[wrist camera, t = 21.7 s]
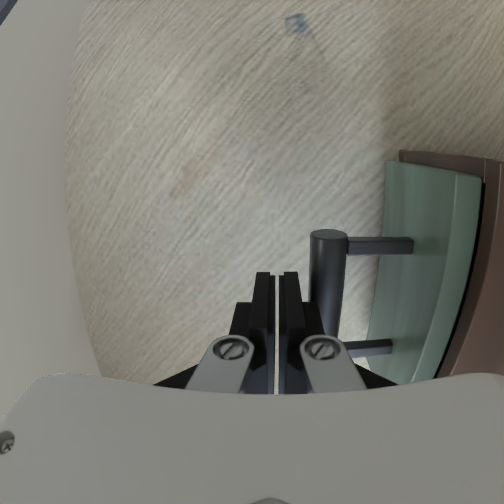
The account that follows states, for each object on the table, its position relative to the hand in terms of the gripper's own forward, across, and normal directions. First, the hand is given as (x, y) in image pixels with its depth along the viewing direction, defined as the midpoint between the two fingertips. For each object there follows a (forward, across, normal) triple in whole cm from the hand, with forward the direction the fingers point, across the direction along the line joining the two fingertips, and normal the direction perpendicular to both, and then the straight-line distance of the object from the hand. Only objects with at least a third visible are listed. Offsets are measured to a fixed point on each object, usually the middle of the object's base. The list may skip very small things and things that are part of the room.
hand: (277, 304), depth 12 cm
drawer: (+3, -11, 0) cm, 11 cm away
